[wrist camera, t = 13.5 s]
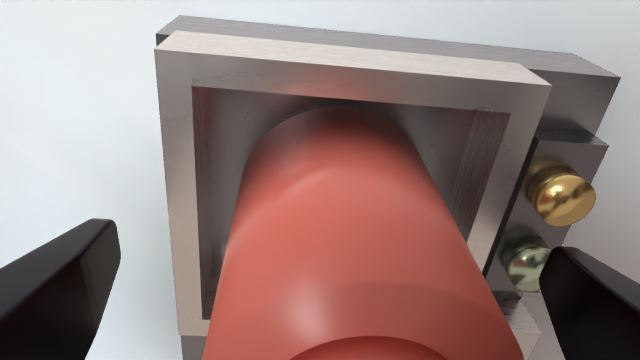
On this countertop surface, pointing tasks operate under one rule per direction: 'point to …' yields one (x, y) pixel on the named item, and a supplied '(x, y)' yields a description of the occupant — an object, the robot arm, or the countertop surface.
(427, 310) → the cap
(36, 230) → the countertop surface
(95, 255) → the robot arm
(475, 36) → the countertop surface
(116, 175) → the countertop surface
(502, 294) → the breaker panel
